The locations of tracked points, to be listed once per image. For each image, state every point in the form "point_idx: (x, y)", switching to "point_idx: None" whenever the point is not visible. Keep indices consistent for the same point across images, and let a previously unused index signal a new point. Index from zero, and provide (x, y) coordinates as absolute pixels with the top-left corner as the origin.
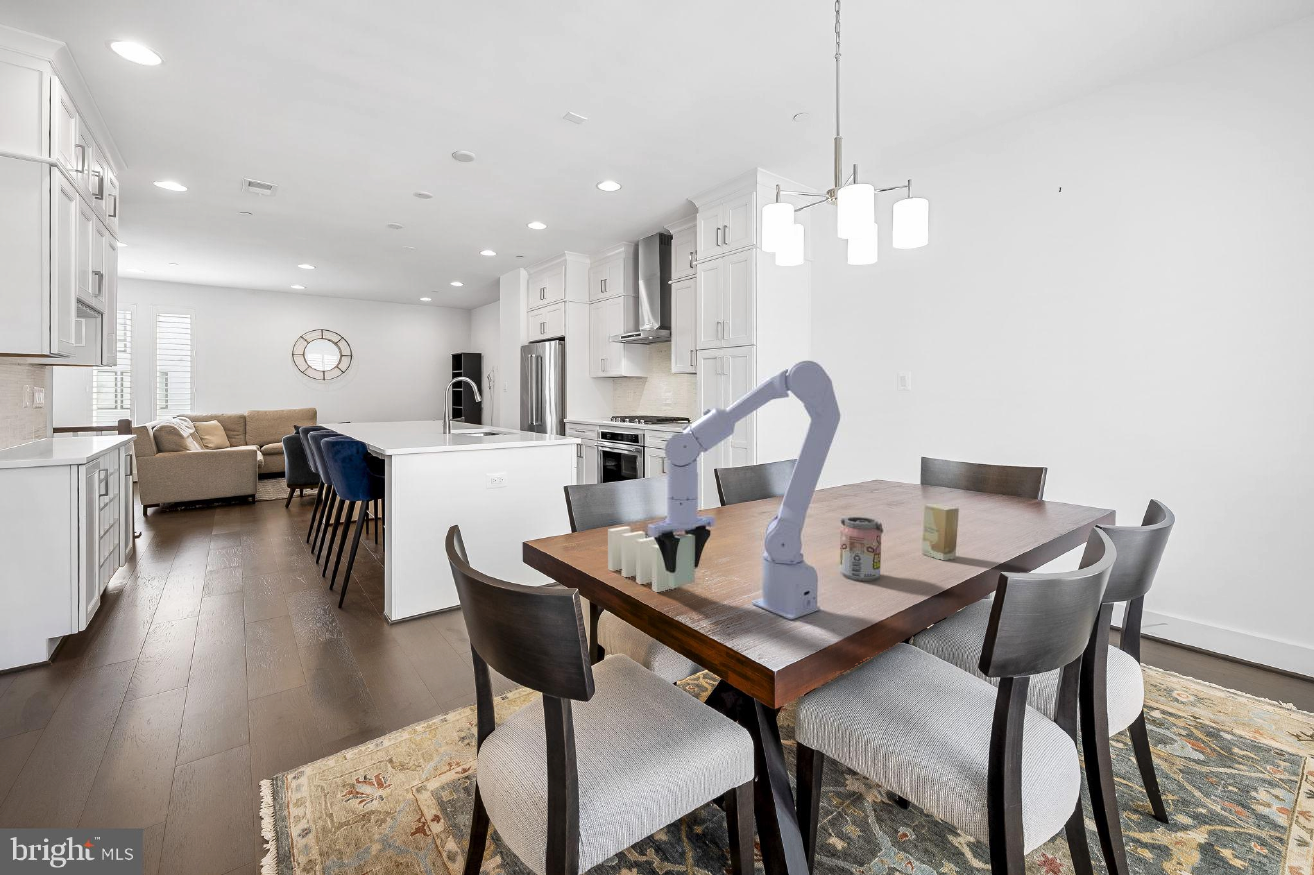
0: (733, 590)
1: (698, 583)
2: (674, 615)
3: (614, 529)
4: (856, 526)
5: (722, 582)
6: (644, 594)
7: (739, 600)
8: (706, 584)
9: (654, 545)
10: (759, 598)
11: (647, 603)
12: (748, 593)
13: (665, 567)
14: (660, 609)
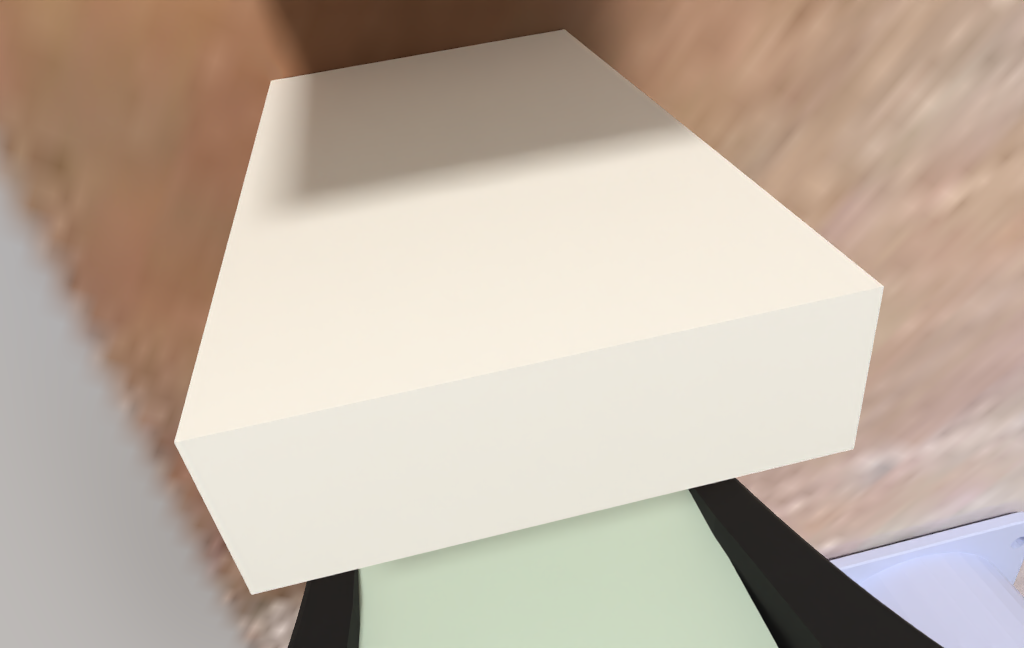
0: (907, 354)
1: (834, 89)
2: (259, 594)
3: None
4: None
5: (1008, 165)
6: (148, 142)
7: (785, 505)
8: (868, 150)
9: (264, 430)
10: (866, 564)
11: (114, 367)
12: (927, 430)
13: (302, 607)
14: (194, 497)
